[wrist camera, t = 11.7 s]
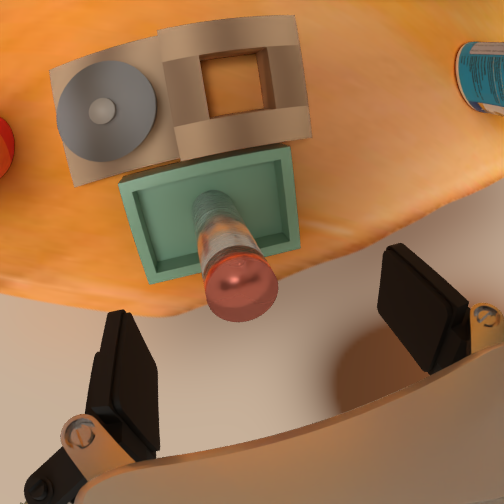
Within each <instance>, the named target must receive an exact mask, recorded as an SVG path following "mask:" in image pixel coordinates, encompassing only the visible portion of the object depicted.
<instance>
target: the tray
mask: <svg viewBox="0 0 504 504" xmlns="http://www.w3.org/2000/svg"><path fill="white" fill-rule="evenodd" d="M118 186H119V190H120V194H121V197H122V201H123V204H124V208H125V211H126V215H127V218H128V221H129V225H130V228H131V231H132V234H133V237H134V241H135V244H136V247H137V250H138V253H139V256H140V259H141V262H142V265H143V268H144V271H145V274H146V276H147V279H148V282H149V285H150V284H154V283H159V282H163V281H167V280H171V279H176V278H180V277H184V276H188V275H192V274H196V273H201V272H202V271H201V266H200V260H199V254H198V248H197V242H196V237H195V230H194V224H193V218H192V205H193V203H194V201H195V199H196V198H197V197H198V196H199V195H200V194H202V193H203V192H206V191H209V190H218V191H221V192H223V193H225V194H226V195H228V196H229V198H230V199H231V201H232V202H233V204H234V206H235V207H236V209H237V211H238V213H239V214H240V216H241V218H242V219H243V221H244V223H245V224H246V226H247V228H248V230H249V231H250V233H251V235H252V236H253V238H254V240H255V242H256V243H257V245H258V247H259V248H260V250H261V252H262V254H263V255H264V257H267V256H271V255H275V254H279V253H283V252H287V251H291V250H296V249H300V248H301V246H300V235H299V224H298V213H297V203H296V193H295V184H294V174H293V165H292V157H291V148H290V146H287V145H285V144H282V143H273V144H267V145H261V146H255V147H250V148H244V149H239V150H233V151H228V152H223V153H218V154H213V155H208V156H204V157H199V158H195V159H190V160H186V161H181V162H177V163H173V164H169V165H165V166H161V167H157V168H153V169H149V170H145V171H141V172H137V173H134V174H130V175H126V176H123V178H122V179H121V180H120V182H119V183H118Z"/></svg>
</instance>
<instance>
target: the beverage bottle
mask: <svg viewBox="0 0 504 504" xmlns="http://www.w3.org/2000/svg"><path fill="white" fill-rule="evenodd" d="M456 77H457V82H458V85H459V88H460V91H461V93H462V95H463V97H464V99H465V100H466V102H467V103H468V104H469V105H470V106H471V107H472V108H473V109H475V110H477V111H479V112H484V113H491V114H495V115H500V116H504V42H468V43H466V44H464V45H463V46H462V47H461V48H460V50H459V52H458V55H457V58H456Z"/></svg>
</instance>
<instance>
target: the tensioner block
mask: <svg viewBox="0 0 504 504" xmlns="http://www.w3.org/2000/svg"><path fill="white" fill-rule="evenodd" d="M157 33H158V36H153V37H149V38H145V39H141V40H137V41H133V42H129V43H126V44H122V45H119V46H115V47H112V48H109V49H106V50H102V51H99V52H96V53H93V54H90V55H87V56H85V57H82V58H79V59H76V60H74V61H71V62H68V63H66V64H63V65H61V66H58V67H56V68H53V69H51V70H49V73H50V80H51V86H52V92H53V98H54V103H55V109H56V114H57V127H58V130H59V134H60V136H61V138H62V141H63V146H64V150H65V154H66V158H67V162H68V165H69V169H70V173H71V177H72V180H73V184H74V187H78V186H81V185H84V184H87V183H90V182H94V181H97V180H100V179H103V178H107V177H110V176H114V175H117V174H120V173H124V172H128V171H131V170H135V169H139V168H142V167H146V166H150V165H154V164H158V163H162V162H166V161H170V160H174V159H178V158H180V160H181V161H185V160H189V159H194V158H198V157H203V156H208V155H213V154H217V153H222V152H227V151H233V150H238V149H243V148H249V147H254V146H260V145H266V144H272V143H279V142H285V141H292V140H299V139H306V138H312V131H311V123H310V114H309V106H308V98H307V90H306V83H305V76H304V69H303V62H302V55H301V49H300V43H299V37H298V31H297V25H296V19H295V15H272V16H253V17H240V18H230V19H221V20H213V21H206V22H199V23H192V24H187V25H181V26H176V27H170V28H166V29H161V30H157ZM246 54H256V58H257V64H258V70H259V77H260V83H261V90H262V96H263V103H264V109H258V110H251V111H245V112H238V113H232V114H226V115H221V116H215V117H210V118H209V112H208V107H207V101H206V95H205V89H204V83H203V78H202V72H201V66H200V61H203V60H209V59H216V58H222V57H230V56H238V55H246Z"/></svg>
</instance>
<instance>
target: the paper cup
mask: <svg viewBox="0 0 504 504" xmlns="http://www.w3.org/2000/svg"><path fill="white" fill-rule="evenodd" d="M13 155H14V137H13V133H12V130H11V128H10V126H9V125H8V123H7V122H6V121H5V120H4V119H2V118H1V117H0V178H1V177H2V176H3V175H4V174H5V173H6V172H7V170H8V169H9V167H10V165H11V162H12V159H13Z"/></svg>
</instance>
